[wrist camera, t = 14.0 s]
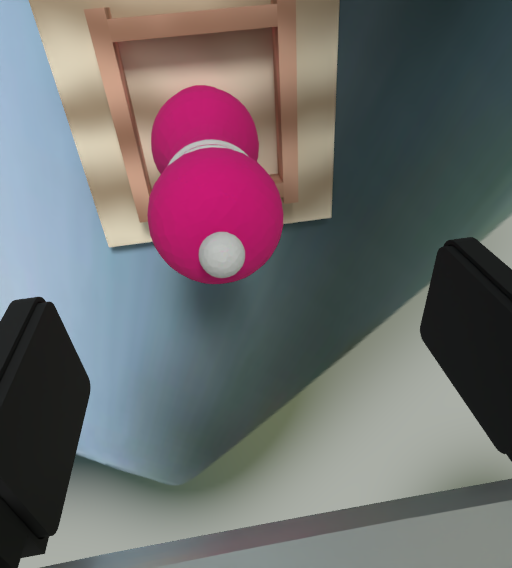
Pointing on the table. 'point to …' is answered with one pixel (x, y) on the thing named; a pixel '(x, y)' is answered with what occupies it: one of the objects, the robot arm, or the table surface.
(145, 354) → the table surface
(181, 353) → the table surface
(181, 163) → the pepper mill
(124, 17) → the board
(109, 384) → the table surface
